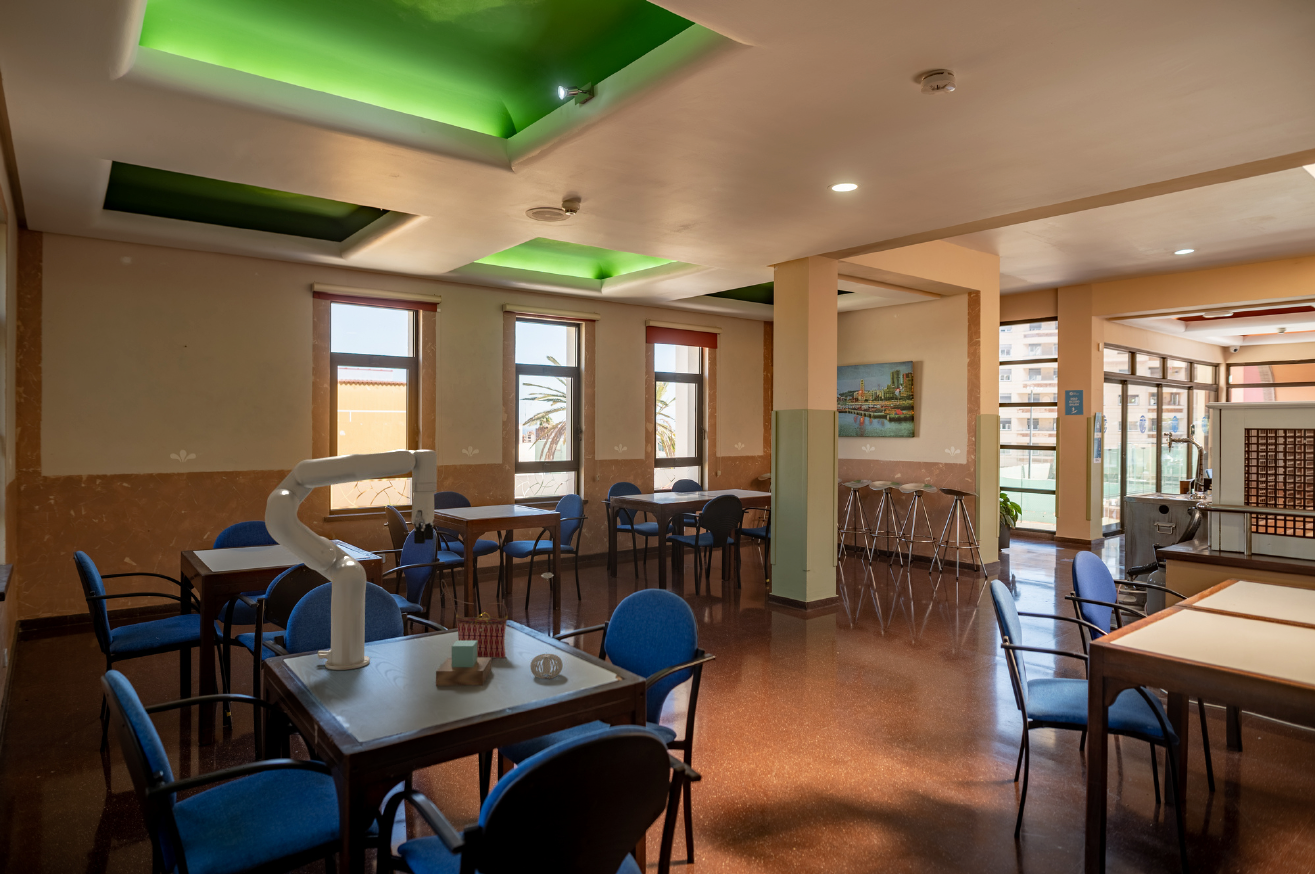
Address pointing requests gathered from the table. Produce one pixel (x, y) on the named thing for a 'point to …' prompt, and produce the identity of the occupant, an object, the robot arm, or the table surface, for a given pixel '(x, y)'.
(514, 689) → the table surface
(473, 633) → the handbag
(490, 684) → the table surface
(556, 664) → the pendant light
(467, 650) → the teal block
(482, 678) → the walnut plinth
